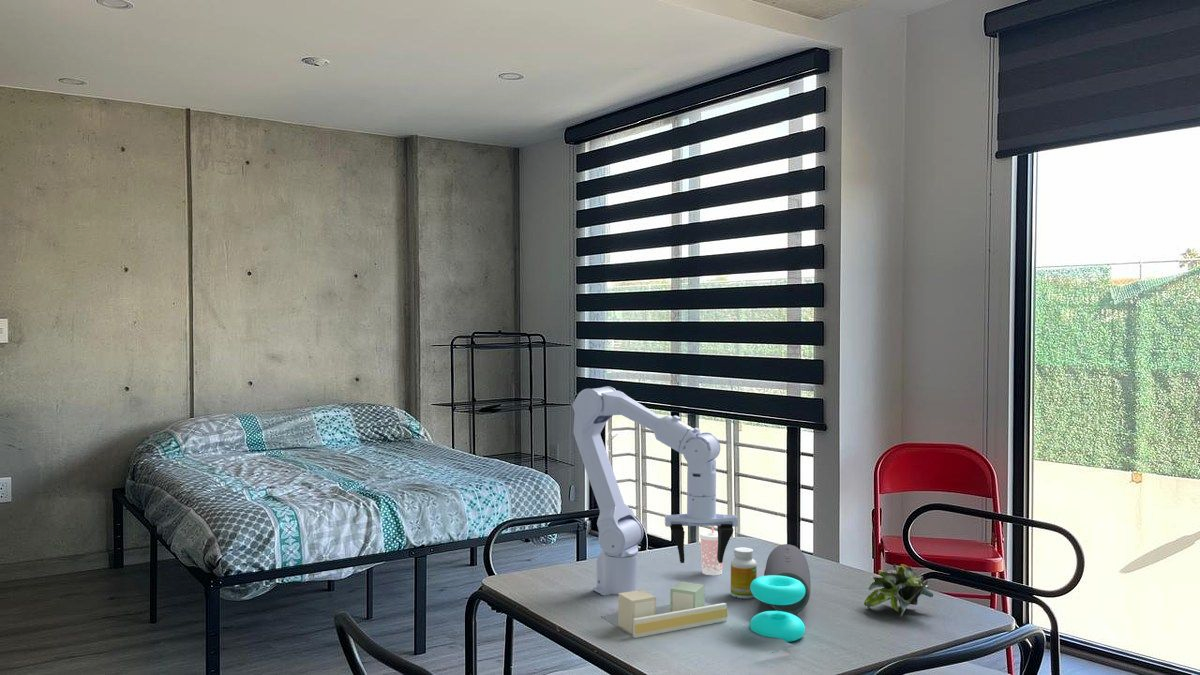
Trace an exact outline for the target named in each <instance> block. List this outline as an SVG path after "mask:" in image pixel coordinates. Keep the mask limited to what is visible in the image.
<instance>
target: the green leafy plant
mask: <svg viewBox="0 0 1200 675" xmlns="http://www.w3.org/2000/svg"><path fill="white" fill-rule="evenodd" d="M892 567H893V570H891V569H890V568H889V569H888V568H886V570H884V571H883V570H881V569H879V570H878V575H879V577H878V576H877V577H876V576H872V579H873V580H874V581H872V582H871V584H870V585H869V586H868V591H871V590H873V589H875V590H873V591H872V592H871V593H870V594H869V595H868V596H867V597H866V598H865V600H864V602H863V605H864V606H865V607H867V609H870V608H871V607H872V608H873V607H876V606H878V605H880V604H882V603H884V602H886V601H889V600H890V604H891V607H892V609H894V610H895V611H896V612H899V607H900V608H901V613H900V616H899V618H901V619H902V617H903V616H904V615H903V614H904V613H905V611H906V609H907V607H908V606H910V605H912V606H917V605H918V600H919V597H920V596H921V595H923V596H926V597H929V598H933V597H934V593H933V592H931V591H930V590H928V589H929V588H930V586H929V585H928V581H929V579H926V580H925V579H924V576H923V575H921V574H920V575H919V573H918V572H916V571H914V572H913V570H914V568H913V567H912V566H908V565H906V564H902V563H901V564H900V565H897V564H893V565H892ZM876 588H879V589H876ZM898 602H899V605H898Z"/></svg>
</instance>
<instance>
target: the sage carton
mask: <svg viewBox="0 0 1200 675" xmlns="http://www.w3.org/2000/svg"><path fill="white" fill-rule="evenodd" d="M705 587H706V586H705V584H701V583H700V584H699V583H693V582H687V581H686V582H685V581H679V582H677V583H676V584H675V585H673V586H671V587H670V595H669V596H670V600H669V601H670V604H669V605H670V612H674V611H680V610H686V609H692V608H697V607H703V606H705V591H706V590H705Z"/></svg>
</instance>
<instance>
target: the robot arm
mask: <svg viewBox="0 0 1200 675" xmlns="http://www.w3.org/2000/svg"><path fill="white" fill-rule="evenodd" d="M571 406H572V409H573V412H574V418H573V436H574V439H575V442H576V446H577V449H578V450H579V455H580V456H581V459H582V462H583V465H584V469H585V472H586V474H587V478H588V480H589V484H590V487H591V489H592V492H593V495H594V497H595V498H594V499H595V501H596V503H597V507H598V510H599V513H598V514H599V515H598V518H597V520H596V521H597V522H596V525H597V530H598V538H597V539H598V544H599V547H600V548H601V549H602V550H601V551H600V552H599V553H598V556H597V559H596V586H593V587H592V591H595V592H596V593H598V594H599V595H601V596H607V595H619V593H624V592H630V591H637V590H638V589H639V544H641V542H642V540H643V538H644V528H643V525H642V524H641V523H640V521H639V520H638V519H637V518H636V516H635V514H634V511H633V510H632V509H631V508H630V507H629V505H627V504H625V502H624V499H623V496H622V494H621V489H620V488H619V487H620V486H619V485H618V482H617V478H616V476H615V473H614V470H613V467H612V463H611V461H610V458H609V456H608V453H607V450H606V446H605V443H604V441H603V439H602V436H601V433H602V431H603V429H604V428H605V425H606V424H607V422H608V421H609V420H610V419H611V418H612V417H613V416H622V417H624V418H626V419H629V420H630V421H633V422H634V423H637V424H638V425H641V426H643V427H645V428H646V429H649V430H651V432H653V434H654V437H655V439H656V440H657V441H659V442H660V443H662V444H664V445H666V446H667V447H669V448H671V449H673V450H674V451H676V452H678V454H681V455H683V458H684V460H685V461H686V463H687V483H686V484H687V487H686V488H687V494H686V496H687V498H686V503H687V504H686V513H684V514H683V513H682V514H681V513H679V514H664V525H665V527H667V528H670V530H671V532H672V535H673V537H674V541H675V543H676V547H677V550H678V556H679V557H678V558H679V563H680V564H683V563H684V564H685V547H684V546H685V531H684V527H685V526H686V527H703V526H704V527H712V526H714V527H717V531H718V551H717V560H718V562H719V563H722V562H723V563H724V555H725V552H726V548H727V546H728V544H729V542H730V539H731V538H732V536H733V533H734V527H735V528H736V527H738V526H739V517H738V515H736V514H735V515H734V514H719V513H717V512H716V510H717V509H716V508H717V505H716V504H717V502H716V501H717V499H716V498H717V497H716V496H717V462H716V461H717V460H716V459H717V458H718V457H719V455H720V452H721V444H720V441H719V439H718V438H717V436H715V435H713V434H712V433H711V432H701V429H700V428H699V427H694V428H693V426H690V425H688V424H686V423H684V421H681V417H680V416H678V415H666V416H660V415H658V414H657V413H656V412H654V411H652V409H650V408H648V407H646V406H644V405H643V404H641V403H639V402H638V401H636V400H635V399H633V398H631V397H630V396H629V395H627V394H626V393H624V392H623V391H621V390H616V388H614V387H612V386H608V385H607V386H602V387H597V388H585V389H582V390H581V391H580V392H579V393H577V396H576V397H575V400H573V403H572V405H571Z"/></svg>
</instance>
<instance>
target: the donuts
mask: <svg viewBox="0 0 1200 675" xmlns="http://www.w3.org/2000/svg"><path fill="white" fill-rule="evenodd" d="M750 590H751V593H752V594H753V596H754V598H755V599H757V600H758V601H761V602H762V603H764V604H769V605H770V604H773V605H789V604H794V603H796V602H799V601H800V600H801V599H802V598H803V597H804V595H805V587H804V585H803V584H802V582H800V581H799V580H797V579H794V578H791V577H787V576H779V575H768V576H764V575H761V576H758V577H756V579H754V580H753V581H752V583H751V585H750ZM749 628H750V629H751V631H752V632H754V633H756V634H757V635H761V636H764V637H770V638H775V639H780V640H782V641H784V642H786V643H790V642H795V641H797V640H800V639H801V638H803V636H804V635H805V632H806V626H805V623H804V622H803V620H802V619H801V618H800V617H798V616H797V615H796V614H791V613H787V612H783V611H776V610H765V611H762V612H760V613H759V612H758V613H757V614H755V615H754V616H753V617H752V618H751V620H750V622H749Z"/></svg>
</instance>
